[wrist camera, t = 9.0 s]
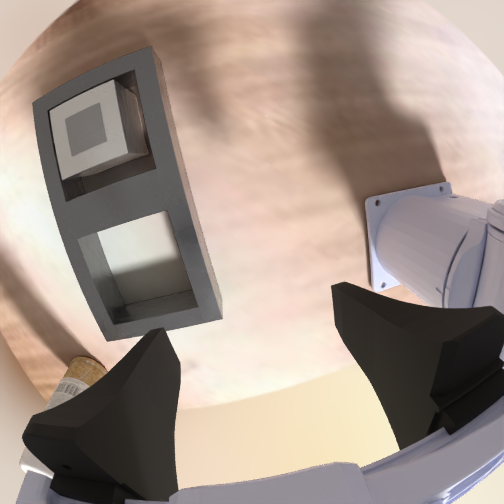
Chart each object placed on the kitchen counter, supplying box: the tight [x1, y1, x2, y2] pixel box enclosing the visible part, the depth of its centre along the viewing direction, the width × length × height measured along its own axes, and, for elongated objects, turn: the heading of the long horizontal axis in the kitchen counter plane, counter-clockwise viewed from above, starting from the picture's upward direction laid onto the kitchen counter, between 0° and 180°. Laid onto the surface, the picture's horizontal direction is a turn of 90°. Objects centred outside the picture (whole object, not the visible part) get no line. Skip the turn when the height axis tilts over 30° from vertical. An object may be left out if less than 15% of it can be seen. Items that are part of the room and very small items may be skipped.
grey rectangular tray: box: [32, 46, 223, 342], centre depth 17 cm, size 9×18×3 cm, turn 13°
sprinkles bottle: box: [19, 357, 107, 478], centre depth 16 cm, size 5×5×13 cm
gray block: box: [50, 80, 148, 180], centre depth 15 cm, size 4×4×4 cm
